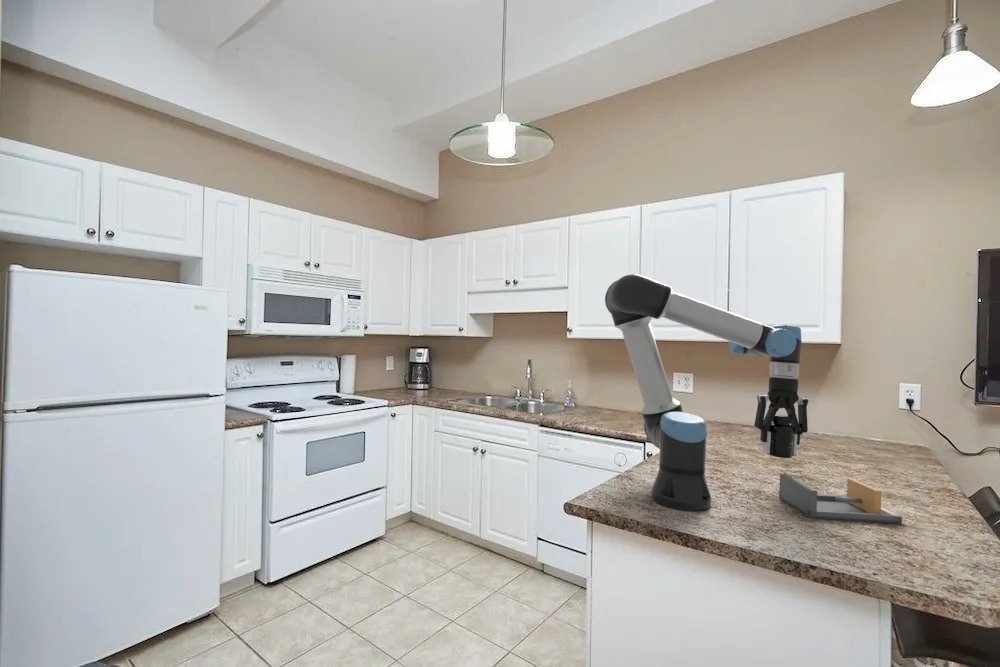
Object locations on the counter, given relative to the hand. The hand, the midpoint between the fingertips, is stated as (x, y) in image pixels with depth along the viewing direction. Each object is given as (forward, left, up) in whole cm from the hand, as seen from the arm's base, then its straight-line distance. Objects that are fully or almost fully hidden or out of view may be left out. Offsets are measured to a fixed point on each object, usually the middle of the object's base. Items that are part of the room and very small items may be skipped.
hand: (779, 454), depth 139 cm
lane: (+9, -13, -11) cm, 19 cm away
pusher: (+12, -13, -11) cm, 21 cm away
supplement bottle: (0, 0, -1) cm, 1 cm away
